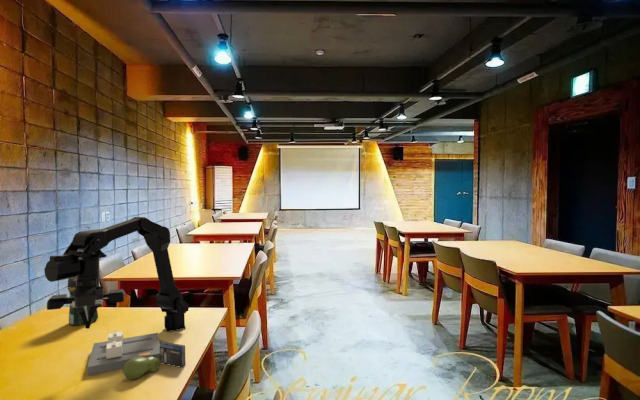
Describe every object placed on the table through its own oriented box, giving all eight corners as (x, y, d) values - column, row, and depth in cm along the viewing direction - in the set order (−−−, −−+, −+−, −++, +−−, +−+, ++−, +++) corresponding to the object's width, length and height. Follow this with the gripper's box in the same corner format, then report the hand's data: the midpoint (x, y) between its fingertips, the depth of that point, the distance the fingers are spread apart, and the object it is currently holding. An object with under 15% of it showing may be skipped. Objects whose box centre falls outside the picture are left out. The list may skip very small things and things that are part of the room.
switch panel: (157, 339, 129) (157, 332, 128) (161, 361, 112) (160, 352, 112) (94, 350, 120) (93, 342, 120) (87, 375, 104) (87, 366, 104)
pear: (120, 358, 102) (153, 351, 111) (117, 378, 102) (151, 369, 110) (131, 363, 99) (165, 355, 108) (128, 383, 99) (162, 374, 107)
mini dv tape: (160, 363, 111) (159, 343, 111) (163, 361, 113) (163, 341, 112) (182, 367, 108) (181, 347, 108) (185, 365, 110) (185, 345, 110)
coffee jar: (93, 316, 153) (92, 271, 152) (100, 320, 148) (99, 274, 147) (66, 322, 146) (64, 276, 145) (72, 327, 140) (70, 279, 140)
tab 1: (123, 340, 121) (122, 329, 121) (122, 344, 118) (122, 333, 118) (109, 342, 120) (108, 331, 120) (108, 347, 116) (107, 335, 116)
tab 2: (122, 350, 113) (122, 339, 113) (121, 356, 110) (121, 344, 110) (107, 353, 112) (107, 341, 112) (106, 359, 108) (106, 346, 108)
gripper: (42, 283, 97) (42, 343, 97) (123, 277, 105) (123, 332, 105) (51, 275, 107) (51, 329, 107) (124, 270, 115) (124, 320, 115)
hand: (87, 328), depth 108 cm, fingers closed
